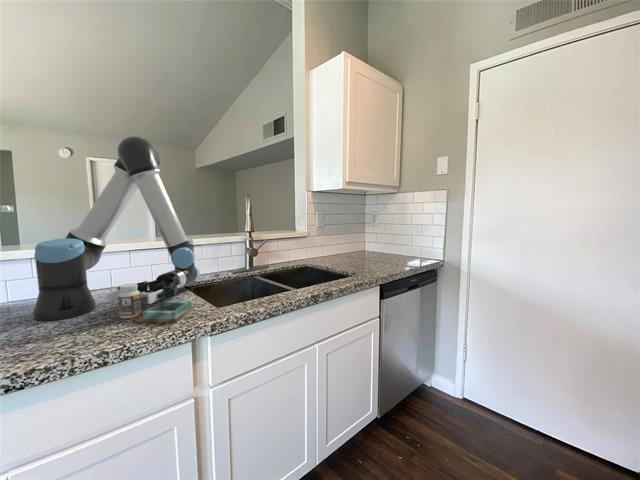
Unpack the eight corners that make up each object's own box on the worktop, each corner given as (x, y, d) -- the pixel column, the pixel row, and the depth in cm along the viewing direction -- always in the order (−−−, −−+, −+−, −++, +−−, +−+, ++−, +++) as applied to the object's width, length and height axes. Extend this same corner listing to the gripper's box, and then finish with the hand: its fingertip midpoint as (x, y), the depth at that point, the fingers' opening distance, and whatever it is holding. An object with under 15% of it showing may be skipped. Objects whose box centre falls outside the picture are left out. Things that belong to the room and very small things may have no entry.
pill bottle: (139, 317, 88) (137, 286, 87) (117, 320, 86) (114, 288, 85) (143, 311, 94) (141, 282, 93) (122, 313, 92) (120, 283, 91)
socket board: (135, 322, 85) (135, 312, 85) (155, 310, 95) (155, 301, 95) (175, 322, 85) (175, 312, 84) (191, 310, 95) (191, 301, 94)
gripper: (202, 292, 108) (166, 312, 87) (140, 290, 111) (92, 309, 90) (201, 272, 108) (165, 288, 87) (139, 271, 110) (90, 285, 89)
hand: (128, 298), depth 88 cm, fingers open, 13 cm apart
